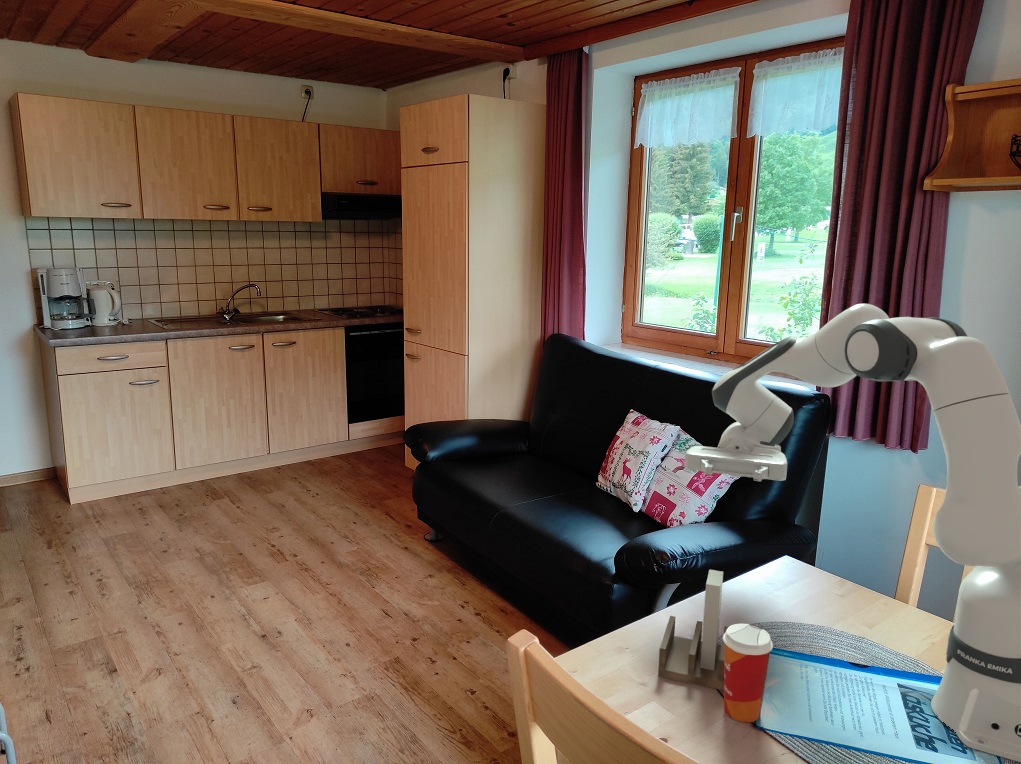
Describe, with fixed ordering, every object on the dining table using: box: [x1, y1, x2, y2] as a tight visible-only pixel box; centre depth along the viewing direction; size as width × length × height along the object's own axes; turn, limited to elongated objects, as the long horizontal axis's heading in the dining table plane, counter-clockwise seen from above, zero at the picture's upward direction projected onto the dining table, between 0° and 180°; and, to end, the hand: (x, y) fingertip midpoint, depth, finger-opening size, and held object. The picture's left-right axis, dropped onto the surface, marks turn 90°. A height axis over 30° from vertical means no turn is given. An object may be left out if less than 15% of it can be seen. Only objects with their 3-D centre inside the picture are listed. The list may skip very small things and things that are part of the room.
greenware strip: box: [700, 569, 724, 670], centre depth 133 cm, size 2×6×16 cm, turn 160°
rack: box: [657, 615, 729, 691], centre depth 135 cm, size 16×12×6 cm
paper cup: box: [722, 623, 774, 724], centre depth 122 cm, size 8×8×14 cm
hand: (732, 474), depth 149 cm, fingers open, 8 cm apart
